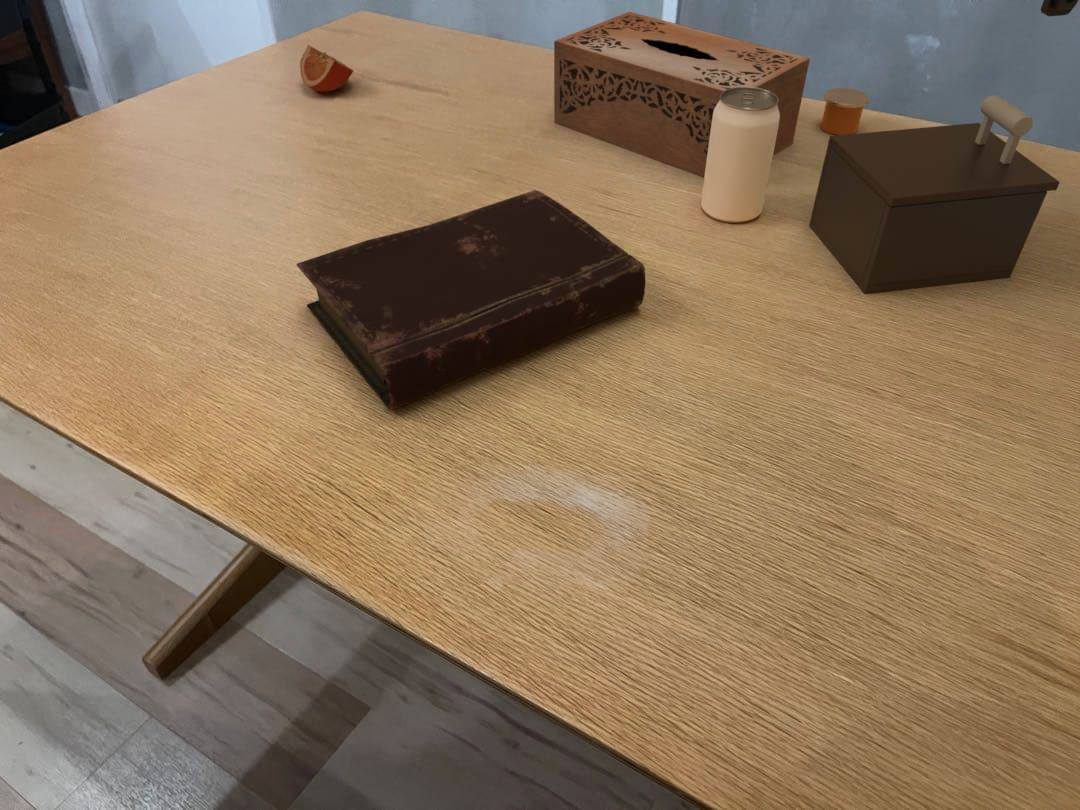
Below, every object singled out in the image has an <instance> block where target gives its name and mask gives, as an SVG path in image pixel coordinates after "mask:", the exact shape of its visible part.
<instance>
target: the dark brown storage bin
mask: <svg viewBox="0 0 1080 810" xmlns="http://www.w3.org/2000/svg"><path fill="white" fill-rule="evenodd" d="M824 155H825V156H824V159H823V163H822V167H821V168H822V169H821V173H820V176H819V181H818V184H817V190H816V194H815V199H814V203H813V207H812V210H811V211H812V212H811V216H810V220H809V224H808V226H809V227H810V229H811V230H812V231H813V232H814V233H815V235H816V236H817V237H818V238H819V240H820V241H821V242H822V243H823V245H824V246H825V247H826V248H827V250H829V252H830V253H831V254H832V256H834V258H835V260H836V261H837V262H838V263H839V264H840V266H841V267H842V268H843V269H844V270H845V272H846V273H847V274H848V275H849V277H850V278H851V279H852V280H853V281H854V282H855V284H856V285H857V287H859V289H860V290H861V292H863V294H873V293H882V292H892V291H899V290H900V291H901V290H911V289H918V288H926V287H935V286H944V285H953V284H963V283H970V282H971V283H972V282H979V281H980V282H981V281H988V280H989V281H990V280H997V279H1007V278H1011V276H1012V274H1013V271H1014V269H1015V267H1016V265H1017V263H1018V260H1019V258H1020V256H1021V253H1022V251H1023V249H1024V247H1025V244H1026V242H1027V240H1028V237H1029V235H1030V232H1031V231H1032V228H1033V226H1034V224H1035V222H1036V219H1037V217H1038V214H1039V212H1040V210H1041V208H1042V205H1043V203H1044V202H1045V199H1046V196H1047V194H1048V191H1042V192H1032V193H1022V194H1012V195H1003V196H993V197H983V198H973V199H963V200H953V201H943V202H933V203H923V204H913V205H903V206H893V207H891V206H890V205H889V204H888V203H887V202H886V201H885V200H884V199H883V198H882V197H881V196H880V195H879V194H878V193H877V192H876V191H875V190H874V189H873V188H872V187H871V186H870V185H869V184H868V183H867V182H866V181H865V180H864V179H863V178H862V177H861V176H860V175H859V174H858V173H857V172H856V171H855V170H854V169H853V168H852V167H851V166H850V165H849V164H848V163H847V162H846V161H845V160H844V159H843V158H842V157H841V156H840V155H839V154H838V153H837V152H836V151H835V150H834V149H833V148H832V147H831V146H830V145H829V144H827V147H826V151H825V154H824Z"/></svg>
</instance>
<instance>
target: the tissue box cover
mask: <svg viewBox="0 0 1080 810" xmlns="http://www.w3.org/2000/svg"><path fill="white" fill-rule="evenodd" d="M810 61H811V57H807V56H803V55H799V54H796V53H791V52H787V51H784V50H780V49H776V48H772V47H768V46H765V45H761V44H756V43H752V42H749V41H746V40H745V41H744V40H742V39H738V38H733V37H729V36H726V35H722V34H719V33H713V32H709V31H706V30H703V29H698V28H694V27H690V26H686V25H683V24H679V23H675V22H671V21H667V20H663V19H659V18H657V17H651V16H647V15H644V14H640V13H636V12H632V11H627V12H625V13H622V14H619V15H616V16H615V17H612V18H610V19H607V20H604V21H602V22H599V23H597V24H594V25H591V26H589V27H585V28H584V29H582V30H578V31H576V32H573V33H570V34H568V35H565V36H563V37H561V38H558V39H556V40H554V41H553V63H554V64H553V70H554V71H553V73H554V74H553V76H554V77H553V78H554V79H553V81H554V82H553V85H554V86H553V88H554V89H553V91H554V92H553V93H554V94H553V97H554V98H553V101H554V103H553V107H554V110H553V111H554V113H553V116H554V118H553V119H554V120H553V123H554V124H558V125H559V126H561V127H562V126H563V127H565V128H569V129H571V130H574V131H576V132H579V133H581V134H584V135H586V136H590V137H592V138H596V139H598V140H601V141H604V142H606V143H609V144H612V145H614V146H616V147H620V148H622V149H625V150H629V151H632V152H634V153H636V154H639V155H641V156H645V157H647V158H650V159H653V160H656V161H659V162H661V163H663V164H667V165H669V166H672V167H675V168H677V169H681V170H682V171H686V172H689V173H691V174H694V175H697V176H699V177H703V178H704V176H705V169H706V161H707V153H708V146H709V138H710V131H711V124H712V117H713V112H714V109H715V107H716V105H717V104H718V102H719V100H720V94H721V93H722V92H723V91H725V90H727V89H730V88H734V87H756V88H761V89H765V90H768V91H770V92H772V93H774V94H775V95H776V96H777V97H778V99H779V101H778V104H777V106H778V109H779V113H780V119H779V126H778V131H777V137H776V142H775V147H774V153H773V156H775V155H777V154H779V152H781V151H783V150H784V149H786V148H788V147H789V146H790V145H792V144H793V143H794V139H795V134H796V130H797V125H798V120H799V115H800V110H801V105H802V100H803V95H804V89H805V85H806V79H807V74H808V70H809V65H810Z"/></svg>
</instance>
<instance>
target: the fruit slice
mask: <svg viewBox="0 0 1080 810" xmlns="http://www.w3.org/2000/svg"><path fill="white" fill-rule="evenodd" d="M299 64H300V66H299V69H300V77H301V80H302V82H303V84H305V86H306V87H308V88H309V89H311V90H313V91H315V92H319V93H329V92H333V91H336V90H338V89H340V88H341V87H342V86H343V85H345V84H346V83H347V82H348V81H349V79H350V78H351V76H352V74H353V73H354V70H353V69H352V68H350V67H349V66H348V65H346V64H345V63H343V62H341V61H339V60H338V59H336V58H335V57H333V56H330V55H328V54H327V51H324V52H322V51H320V50H318V49H317V48H315V47H313V46H311V45H309V44H308V45H307V46H306V47H305V50H304V53H303V54H302V57H301V58H300V61H299Z"/></svg>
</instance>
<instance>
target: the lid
mask: <svg viewBox="0 0 1080 810" xmlns="http://www.w3.org/2000/svg"><path fill="white" fill-rule="evenodd" d="M980 111H981V113H982V114H983V117H982V121H981V123H980V122H972V123H961V124H949V125H937V126H925V127H915V128H914V127H913V128H905V129H892V130H881V131H871V132H859V133H854V134H847V135H830V136H829V139H828V142H827V145H830V146H831V147H832V148H833V149H834V150H835V151H836V152H837V153H838V154H839V155H840V156H841V157H842V158H843V159H844V160H845V161H846V162H847V163H848V164H849V165H850V166H851V167H852V168H853V169H854V170H855V171H856V172H857V173H858V174H859V175H860V176H861V177H862V178H863V179H864V180H865V181H866V182H867V183H868V184H869V185H870V186H871V187H872V188H873V189H874V190H875V191H876V192H877V193H878V194H879V195H880V196H881V197H882V198H883V199H884V200H885V201H886V202H887V203H888V204H889V205H890V206H891V207H893V206H903V205H913V204H923V203H933V202H943V201H953V200H963V199H973V198H983V197H993V196H1003V195H1012V194H1022V193H1032V192H1042V191H1047V192H1051V191H1057V190H1058V187H1059V185H1060V183H1061V182H1060V180H1058V179H1057V178H1055V177H1053V176H1052V175H1051V174H1050V173H1048V172H1047V171H1045V170H1044V169H1043V168H1042V167H1041V166H1039V165H1037V164H1036V163H1035V162H1033V161H1032V160H1031V159H1029V158H1028V157H1027V156H1025V155H1024V154H1023V153H1021V152H1020V151H1018V150H1017V148H1018V145H1019V143H1020V141H1021V138H1022V137H1024V136H1025V135H1026V134H1028V133H1029V132H1030V130H1031V129H1032V128H1033V124H1034V119H1033V118H1032V117H1031V116H1030V115H1028V114H1027V113H1025V112H1023V111H1022V110H1021V109H1020V108H1017V107H1016V106H1015V105H1013V104H1011V103H1010V102H1008V100H1005V99H1004V98H1003V97H1001V96H999V95H998V94H991V95H988V96H986V98H985V99H984V100H983V101H982V102H981V105H980ZM994 123H995V124H998V125H999V126H1000V127H1002V128H1003V129H1004V130H1006V132H1009V134H1008V137H1007V140H1006V141H1004V139H1002V138H1000V137H999V136H998V135H996V134H995V133H993V132H992V131H991V130H992V127H993V124H994Z"/></svg>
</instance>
